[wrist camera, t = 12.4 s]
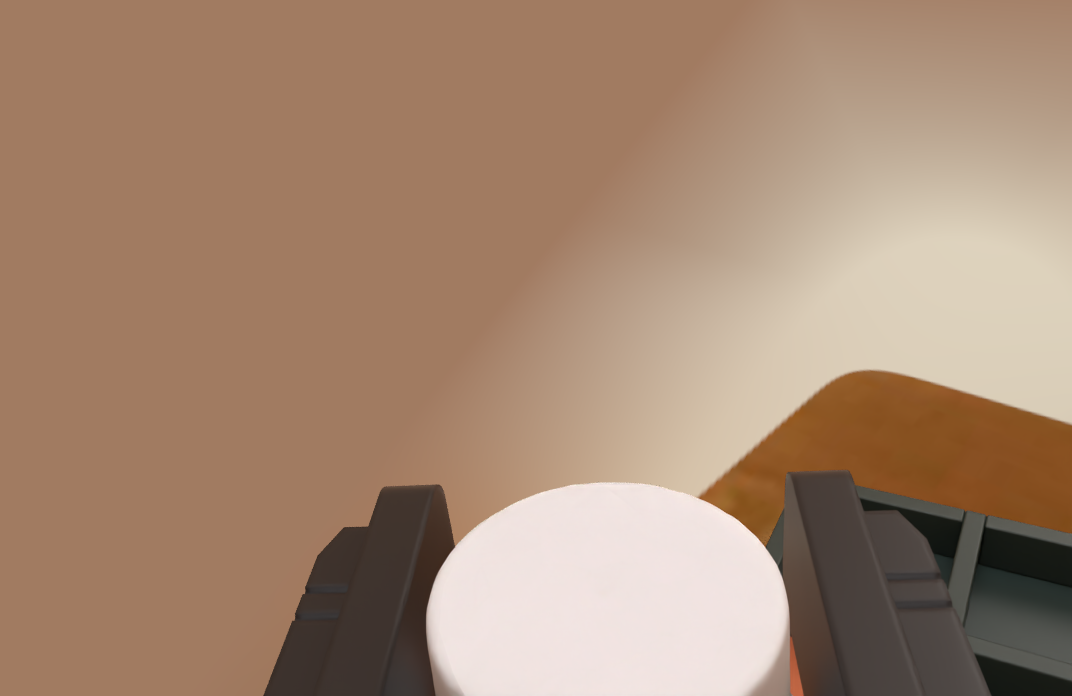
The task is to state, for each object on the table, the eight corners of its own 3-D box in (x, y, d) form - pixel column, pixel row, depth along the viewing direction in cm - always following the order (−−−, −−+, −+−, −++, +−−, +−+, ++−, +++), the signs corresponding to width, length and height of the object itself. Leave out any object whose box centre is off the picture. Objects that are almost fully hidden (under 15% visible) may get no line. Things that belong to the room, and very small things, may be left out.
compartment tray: (683, 775, 29) (681, 724, 28) (798, 517, 38) (800, 471, 37) (1173, 966, 23) (1196, 914, 22) (1168, 609, 32) (1185, 558, 31)
